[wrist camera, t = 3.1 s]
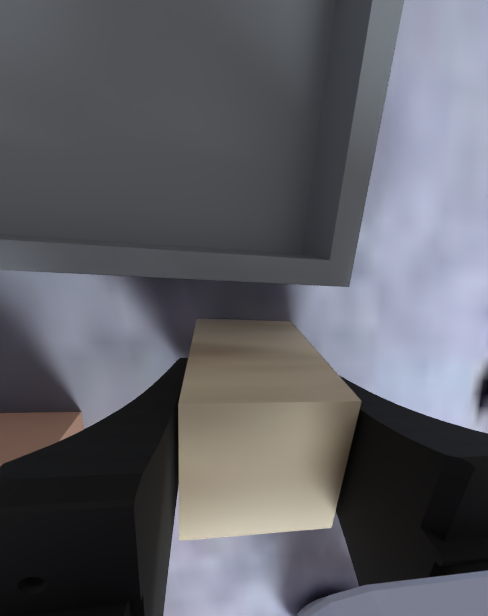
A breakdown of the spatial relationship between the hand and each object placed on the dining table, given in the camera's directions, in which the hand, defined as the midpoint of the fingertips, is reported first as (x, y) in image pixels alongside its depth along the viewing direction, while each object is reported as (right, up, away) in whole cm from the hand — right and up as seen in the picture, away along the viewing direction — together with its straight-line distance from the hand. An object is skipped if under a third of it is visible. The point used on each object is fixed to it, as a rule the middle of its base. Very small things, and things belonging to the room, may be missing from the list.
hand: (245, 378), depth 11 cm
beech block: (0, 0, +1) cm, 1 cm away
